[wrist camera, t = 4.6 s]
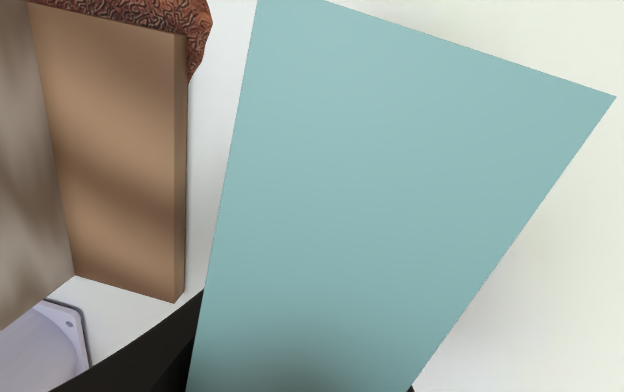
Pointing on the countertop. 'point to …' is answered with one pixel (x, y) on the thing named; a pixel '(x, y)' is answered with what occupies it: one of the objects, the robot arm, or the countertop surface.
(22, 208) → the ridge
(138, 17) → the wooden tablet
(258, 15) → the teal rectangular bar
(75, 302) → the countertop surface
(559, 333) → the countertop surface
